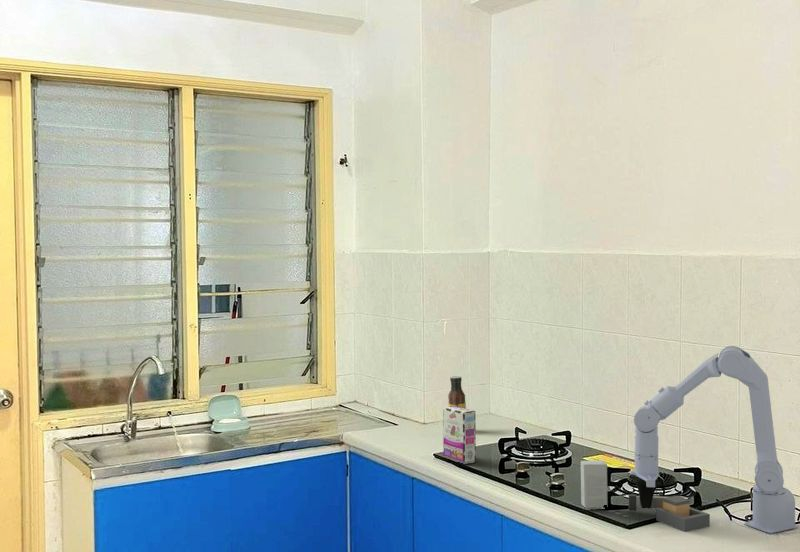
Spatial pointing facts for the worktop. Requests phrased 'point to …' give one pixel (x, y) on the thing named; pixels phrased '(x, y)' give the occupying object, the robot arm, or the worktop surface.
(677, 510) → the plug
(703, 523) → the socket
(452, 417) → the candy bar box
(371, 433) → the worktop surface
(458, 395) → the sauce bottle
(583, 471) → the skincare box
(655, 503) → the clip
